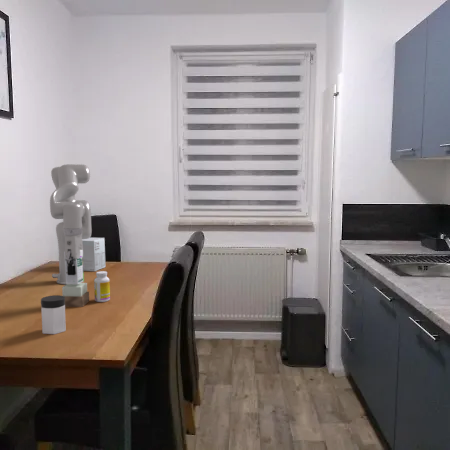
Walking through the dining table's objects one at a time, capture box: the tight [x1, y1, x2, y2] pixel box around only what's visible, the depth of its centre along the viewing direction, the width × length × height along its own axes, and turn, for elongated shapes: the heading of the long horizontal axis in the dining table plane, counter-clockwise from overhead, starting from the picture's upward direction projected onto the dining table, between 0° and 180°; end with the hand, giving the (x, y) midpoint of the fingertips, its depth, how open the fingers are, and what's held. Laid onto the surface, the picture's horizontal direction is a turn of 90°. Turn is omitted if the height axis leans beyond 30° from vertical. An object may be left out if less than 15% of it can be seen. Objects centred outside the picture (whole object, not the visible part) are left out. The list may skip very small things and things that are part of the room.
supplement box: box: [82, 237, 106, 272], centre depth 272 cm, size 17×13×18 cm
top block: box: [61, 282, 88, 296], centre depth 200 cm, size 8×8×4 cm
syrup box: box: [64, 250, 85, 285], centre depth 198 cm, size 6×6×14 cm
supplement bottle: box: [93, 270, 111, 303], centre depth 205 cm, size 7×7×13 cm
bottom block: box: [64, 291, 90, 308], centre depth 200 cm, size 9×9×4 cm
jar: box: [40, 294, 67, 335], centre depth 166 cm, size 9×8×12 cm
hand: (74, 272), depth 199 cm, fingers closed on syrup box, 6 cm apart
